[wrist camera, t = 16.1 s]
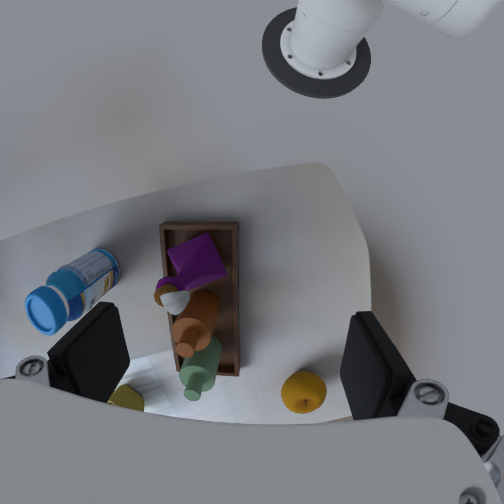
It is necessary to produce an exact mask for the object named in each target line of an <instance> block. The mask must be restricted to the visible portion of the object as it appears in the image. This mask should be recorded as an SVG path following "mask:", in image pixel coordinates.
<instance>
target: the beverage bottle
mask: <svg viewBox="0 0 504 504" xmlns="http://www.w3.org/2000/svg"><path fill="white" fill-rule="evenodd" d="M119 275H120V271H119V266H118V263H117V261H116V259H115V258H114V257H113V255H112V254H111V253H109V252H108V251H106V250H104V249H94V250H92V251H90V252H88V253H87V254H85V255H83V256H81V257H80V258H78V259H76V260H74V261H72V262H71V263H69V264H66V265H64V266H62V267H61V268H59V269H58V270H57V271H56V272H53V273H52V274H51V275H50V276H49V277H48V278H47V280H46V282H45V284H44V286H41V287H39V288H37V289H35V290H34V291H32V292H31V293H30V294H29V295H28V296H27V298H26V301H25V308H26V313H27V315H28V318H29V320H30V321H31V323H32V324H33V326H34V327H35V328H36V329H37V330H38V331H40V332H41V333H43V334H45V335H53V334H55V333H56V332H57V331H59V330H60V329H61V328H62V327H63V326H64V325H65V323H66V321H73V320H76V319H78V318H80V317H81V316H82V315H83V313H85V312H87V311H88V310H90V309H91V307H92V306H93V305H94V304H95V303H96V302H97V301H98V300H99V299H100V298H101V297H102V296H103V295H104V294H105V293H107V292H108V291H109V290H110V289H111V288H113V287H114V286H115V285H116V284H117V282H118V280H119Z"/></svg>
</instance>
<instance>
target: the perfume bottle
mask: <svg viewBox="0 0 504 504" xmlns="http://www.w3.org/2000/svg"><path fill="white" fill-rule="evenodd" d="M167 253H168V255H169V257H170V259H171V261H172V263H173V265H174V267H175V269H176V271H177V273H178V275H177V276H176V277H170V276H165V277H164V278H162V279H160V280H159V281H158V284H157V286H156V291H155V293H154V299H155V301H156V302H157V304H158V305H160V306H162V307H164V308H166V310H167V311H168V312H169V313H171V314H173V315H177V314H180V313H181V312H182V311H183V310H184V309H185V307H186V305H187V303H188V301H189V299H190V294H189V292H188V291H186V290H191V289H194V288H196V287H199V286H202V285H204V284H207V283H210V282H212V281H215V280H218V279H220V278H223V277H226V276H227V275H228V274H227V272H226V269H225V267H224V265H223V263H222V261H221V259H220V257H219V254H218V252H217V250H216V248H215V246H214V244H213V241H212V239H211V237H210V235H209V233H205V234H202V235H200V236H198V237H195V238H193V239H191V240H189V241H186V242H184V243H182V244H179V245H177V246H175V247H173V248H170V249H168V250H167ZM185 288H186V290H185Z"/></svg>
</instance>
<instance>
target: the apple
mask: <svg viewBox="0 0 504 504" xmlns="http://www.w3.org/2000/svg"><path fill="white" fill-rule="evenodd" d="M326 393H327V389H326V385H325V383H324V381H323V380H322V379H321V378H320V377H319V376H317V375H316V374H314V373H312V372H308V371H298V372H296V373H294V374H293V375H292V376H290V377H289V378H288V379H287V380H286V381H285V383H284V385H283V386H282V390H281V397H282V400H283V402H284V404H285V405H286V407H287V408H288V409H289V410H291V411H293V412H295V413H302V414H303V413H309V412H312V411H314V410H315V409H317V408H319V407H320V406H321V405H322V403H323V402H324V400H325V397H326Z"/></svg>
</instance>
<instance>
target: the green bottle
mask: <svg viewBox="0 0 504 504" xmlns="http://www.w3.org/2000/svg"><path fill="white" fill-rule="evenodd" d="M221 351H222V344H221V342H220V340H219V339H218V338H217V337H215V336H214V335H212V337H211V341H210V343H209V345H208V346H207V347H206V348H204V349H202V350H199V351H194V354H193V355H192V356H191V357H189V358H185V360H184V362H183V365H182V368H181V370H180V373H179V378H180V381H181V383H182V384H183V385H184V386H185V387H186V388H185V391H184V396H185V398H187V399H188V400H191V401H197V400H199V399H200V396H201V392H204V391H208V390H210V389H211V388H212V387H213V386H214V383H215V378H216V374H217V369H218V365H219V360H220V356H221Z"/></svg>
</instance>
